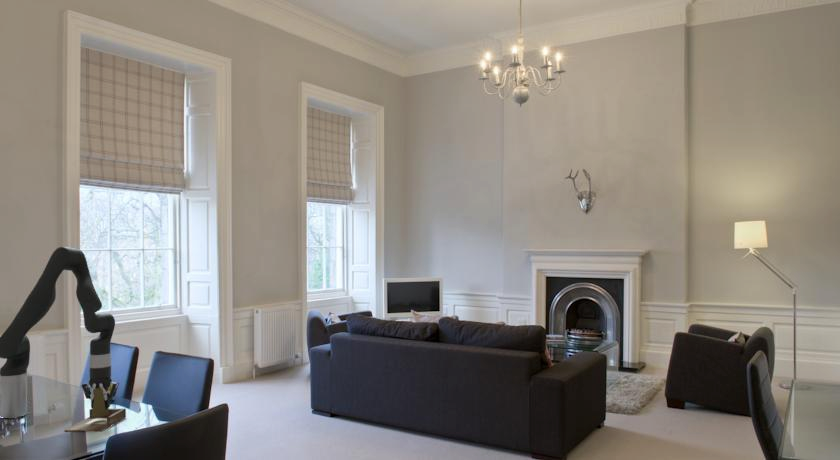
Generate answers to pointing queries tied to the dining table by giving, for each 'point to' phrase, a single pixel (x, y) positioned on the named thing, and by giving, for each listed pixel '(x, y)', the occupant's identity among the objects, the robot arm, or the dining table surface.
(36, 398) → the dining table surface
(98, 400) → the olive double-lobed piece
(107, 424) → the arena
